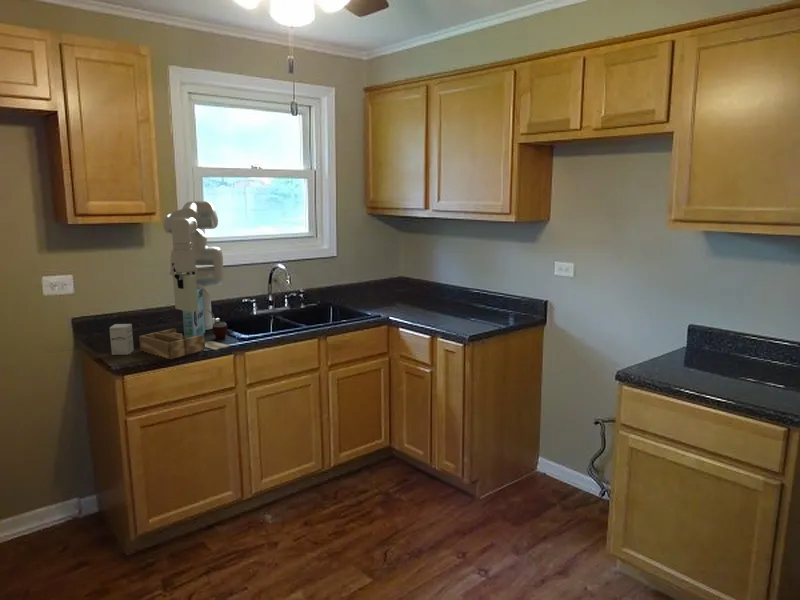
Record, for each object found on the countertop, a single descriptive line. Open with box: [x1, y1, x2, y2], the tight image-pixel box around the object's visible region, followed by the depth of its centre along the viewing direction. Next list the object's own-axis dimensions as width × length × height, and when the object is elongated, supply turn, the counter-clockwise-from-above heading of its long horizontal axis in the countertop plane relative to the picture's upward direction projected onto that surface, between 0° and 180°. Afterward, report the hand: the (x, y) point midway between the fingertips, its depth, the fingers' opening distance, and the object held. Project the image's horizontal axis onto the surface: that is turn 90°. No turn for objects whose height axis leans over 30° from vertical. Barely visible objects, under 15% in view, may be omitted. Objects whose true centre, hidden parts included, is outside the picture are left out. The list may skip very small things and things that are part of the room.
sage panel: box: [172, 272, 198, 312], centre depth 264 cm, size 4×12×16 cm, turn 53°
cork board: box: [205, 340, 231, 351], centre depth 274 cm, size 8×14×1 cm, turn 55°
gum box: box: [182, 289, 206, 338], centre depth 288 cm, size 20×5×23 cm, turn 3°
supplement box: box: [109, 323, 134, 356], centre depth 263 cm, size 7×7×13 cm
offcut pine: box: [165, 332, 183, 339], centre depth 272 cm, size 4×6×3 cm
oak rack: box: [138, 327, 206, 360], centre depth 267 cm, size 18×22×7 cm
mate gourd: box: [207, 310, 229, 341], centre depth 286 cm, size 8×8×15 cm
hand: (185, 287), depth 264 cm, fingers closed on sage panel, 3 cm apart
